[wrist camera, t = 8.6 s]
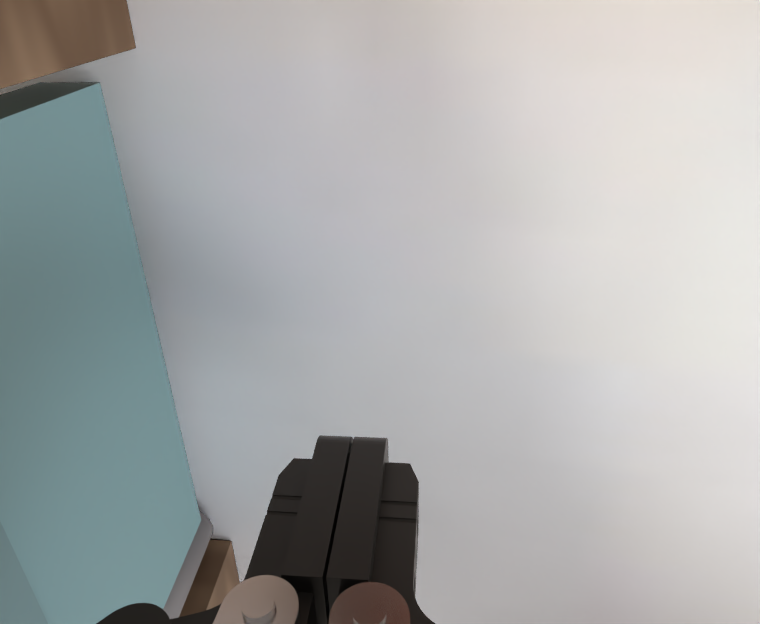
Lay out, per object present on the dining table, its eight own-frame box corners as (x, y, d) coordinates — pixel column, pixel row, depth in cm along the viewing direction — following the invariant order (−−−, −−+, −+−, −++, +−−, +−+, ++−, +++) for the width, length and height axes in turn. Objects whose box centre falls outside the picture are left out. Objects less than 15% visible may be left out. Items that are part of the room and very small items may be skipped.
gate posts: (246, 585, 27) (139, 928, 17) (171, 579, 27) (25, 914, 18) (114, -100, 14) (-520, -206, 5) (-22, -97, 15) (-868, -190, 5)
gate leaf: (216, 543, 25) (103, 836, 17) (168, 540, 25) (33, 829, 17) (114, 79, 16) (-239, 213, 8) (41, 79, 16) (-380, 210, 8)
